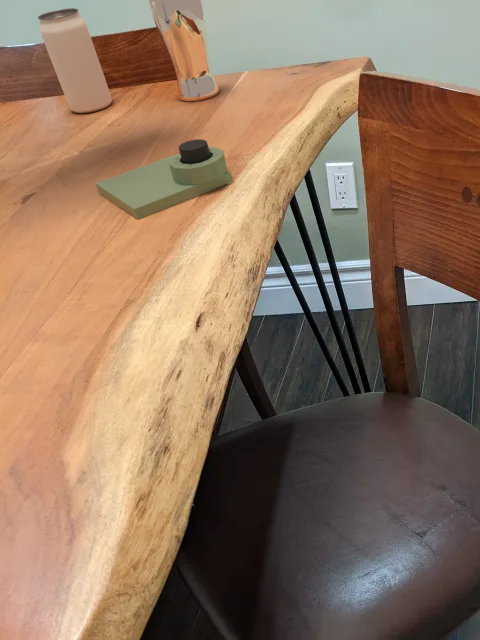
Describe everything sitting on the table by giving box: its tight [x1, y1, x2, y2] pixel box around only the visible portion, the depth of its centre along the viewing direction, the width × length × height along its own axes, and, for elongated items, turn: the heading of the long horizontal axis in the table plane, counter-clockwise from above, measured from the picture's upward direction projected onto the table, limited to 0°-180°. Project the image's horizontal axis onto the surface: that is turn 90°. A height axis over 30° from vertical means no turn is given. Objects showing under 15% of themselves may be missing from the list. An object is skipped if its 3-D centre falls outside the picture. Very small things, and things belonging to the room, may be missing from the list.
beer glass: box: [148, 0, 220, 103], centre depth 99 cm, size 7×7×15 cm
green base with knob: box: [95, 146, 234, 220], centre depth 79 cm, size 13×12×3 cm
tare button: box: [178, 138, 211, 164], centre depth 77 cm, size 3×3×2 cm
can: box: [37, 7, 113, 115], centre depth 102 cm, size 6×6×12 cm
